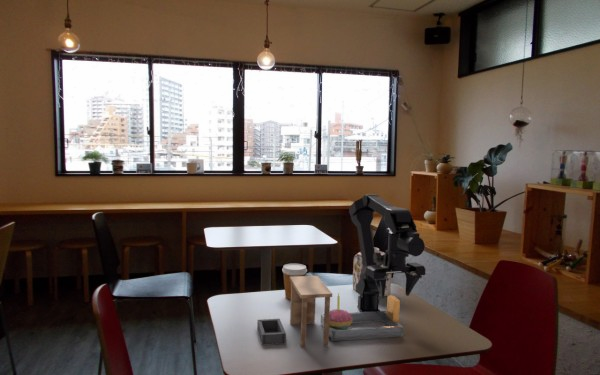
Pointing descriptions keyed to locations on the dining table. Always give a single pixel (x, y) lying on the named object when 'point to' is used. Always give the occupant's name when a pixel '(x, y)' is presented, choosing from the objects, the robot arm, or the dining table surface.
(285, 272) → the disposable coffee cup
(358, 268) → the decorative jar
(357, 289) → the robot arm
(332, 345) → the dining table surface
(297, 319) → the small wooden table
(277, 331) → the box
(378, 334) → the grey shallow tray
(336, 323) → the cupcake
